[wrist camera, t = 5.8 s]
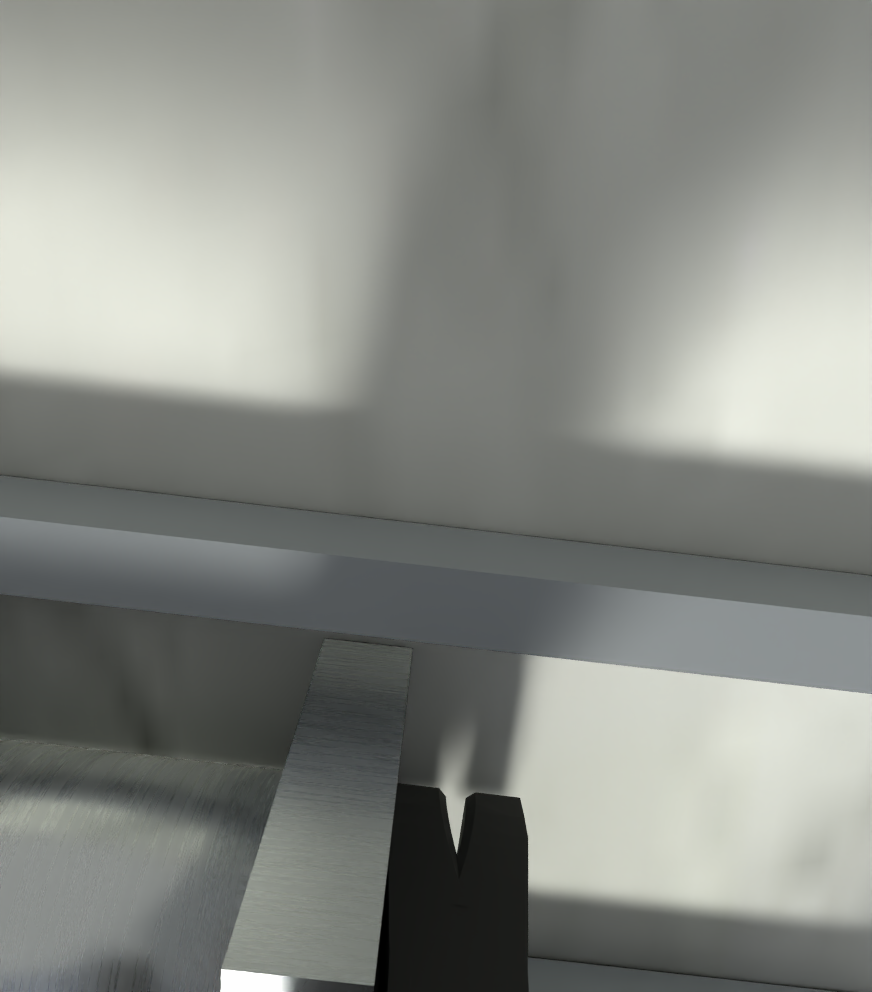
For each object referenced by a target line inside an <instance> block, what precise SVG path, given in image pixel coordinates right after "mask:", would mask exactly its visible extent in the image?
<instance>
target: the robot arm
mask: <svg viewBox="0 0 872 992" xmlns="http://www.w3.org/2000/svg"><path fill="white" fill-rule="evenodd" d="M374 992H529V983H528V835H527V830H526V824H525V818H524V814H523V809H522V805H521V800H520V798H517V797H509V796H500V795H492V794H484V793H476V792H475V793H474V794H472V795H470V796H469V797H467V798H466V800H465V806H464V813H463V819H462V826H461V832H460V838H459V845H458V851H457V854H456V850H455V846H454V842H453V838H452V834H451V829H450V824H449V819H448V813H447V806H446V796H445V795H444V794H443V793H442V791H441V790H440V789H439V788H434V787H426V786H417V785H409V784H401V783H397V790H396V798H395V807H394V816H393V825H392V833H391V842H390V851H389V860H388V868H387V877H386V886H385V895H384V904H383V913H382V922H381V930H380V939H379V948H378V957H377V966H376V975H375V984H374Z"/></svg>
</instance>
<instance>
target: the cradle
mask: <svg viewBox="0 0 872 992" xmlns="http://www.w3.org/2000/svg"><path fill="white" fill-rule="evenodd" d="M0 594H2V595H11V596H20V597H29V598H37V599H46V600H55V601H64V602H72V603H81V604H90V605H99V606H107V607H116V608H125V609H134V610H142V611H151V612H160V613H169V614H177V615H186V616H195V617H204V618H212V619H221V620H230V621H239V622H247V623H256V624H265V625H274V626H282V627H291V628H300V629H309V630H317V631H326V632H335V633H344V634H352V635H361V636H370V637H379V638H387V639H396V640H405V641H414V642H422V643H431V644H440V645H449V646H457V647H466V648H475V649H484V650H492V651H501V652H510V653H519V654H527V655H536V656H545V657H554V658H562V659H571V660H580V661H589V662H597V663H606V664H615V665H624V666H632V667H641V668H650V669H659V670H667V671H676V672H685V673H694V674H702V675H711V676H720V677H729V678H737V679H746V680H755V681H763V682H772V683H781V684H790V685H798V686H807V687H816V688H825V689H833V690H842V691H851V692H860V693H868V694H872V576H870V575H861V574H853V573H844V572H835V571H827V570H818V569H809V568H801V567H792V566H783V565H775V564H766V563H757V562H749V561H740V560H731V559H723V558H714V557H705V556H697V555H688V554H679V553H671V552H662V551H653V550H645V549H636V548H627V547H619V546H610V545H601V544H593V543H584V542H575V541H567V540H558V539H549V538H541V537H532V536H523V535H515V534H506V533H497V532H489V531H480V530H471V529H463V528H454V527H445V526H437V525H428V524H419V523H411V522H402V521H393V520H385V519H376V518H367V517H359V516H350V515H341V514H333V513H324V512H315V511H307V510H298V509H289V508H281V507H272V506H263V505H255V504H246V503H237V502H228V501H220V500H211V499H202V498H194V497H185V496H176V495H168V494H159V493H150V492H142V491H133V490H124V489H116V488H107V487H98V486H90V485H81V484H72V483H64V482H55V481H46V480H38V479H29V478H20V477H12V476H3V475H0ZM528 983H529V992H835V991H826V990H817V989H808V988H799V987H790V986H781V985H772V984H763V983H754V982H745V981H736V980H727V979H718V978H709V977H700V976H691V975H682V974H673V973H664V972H656V971H647V970H638V969H629V968H620V967H611V966H602V965H593V964H584V963H575V962H566V961H557V960H548V959H539V958H530V957H528Z"/></svg>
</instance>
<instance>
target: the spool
mask: <svg viewBox="0 0 872 992" xmlns="http://www.w3.org/2000/svg"><path fill="white" fill-rule="evenodd" d="M411 657H412V648H406V647H397V646H388V645H379V644H370V643H361V642H352V641H343V640H334V639H325V638H324V641H323V644H322V648H321V651H320V654H319V657H318V660H317V664H316V667H315V670H314V673H313V676H312V680H311V683H310V686H309V689H308V693H307V696H306V699H305V702H304V705H303V709H302V712H301V715H300V718H299V721H298V725H297V728H296V731H295V734H294V737H293V741H292V744H291V747H290V750H289V753H288V757H287V760H286V763H285V766H284V769H283V770H279V769H270V768H261V767H252V766H243V765H234V764H225V763H216V762H207V761H198V760H189V759H180V758H171V757H162V756H152V755H143V754H134V753H125V752H116V751H107V750H98V749H89V748H80V747H71V746H62V745H53V744H44V743H35V742H26V741H17V740H8V739H0V992H374V984H375V975H376V966H377V957H378V948H379V939H380V930H381V922H382V913H383V904H384V895H385V886H386V877H387V868H388V860H389V851H390V842H391V833H392V825H393V816H394V807H395V798H396V790H397V781H398V772H399V763H400V755H401V746H402V737H403V728H404V719H405V710H406V702H407V693H408V684H409V675H410V666H411Z"/></svg>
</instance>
